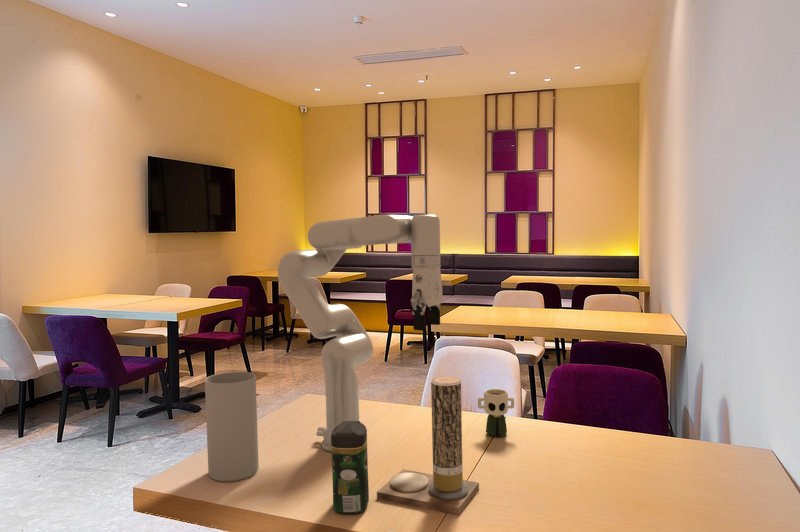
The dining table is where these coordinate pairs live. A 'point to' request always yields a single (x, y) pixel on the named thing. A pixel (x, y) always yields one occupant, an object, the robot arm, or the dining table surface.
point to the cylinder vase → (231, 425)
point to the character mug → (496, 410)
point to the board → (426, 492)
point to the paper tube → (447, 433)
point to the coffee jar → (349, 467)
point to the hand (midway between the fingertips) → (427, 327)
